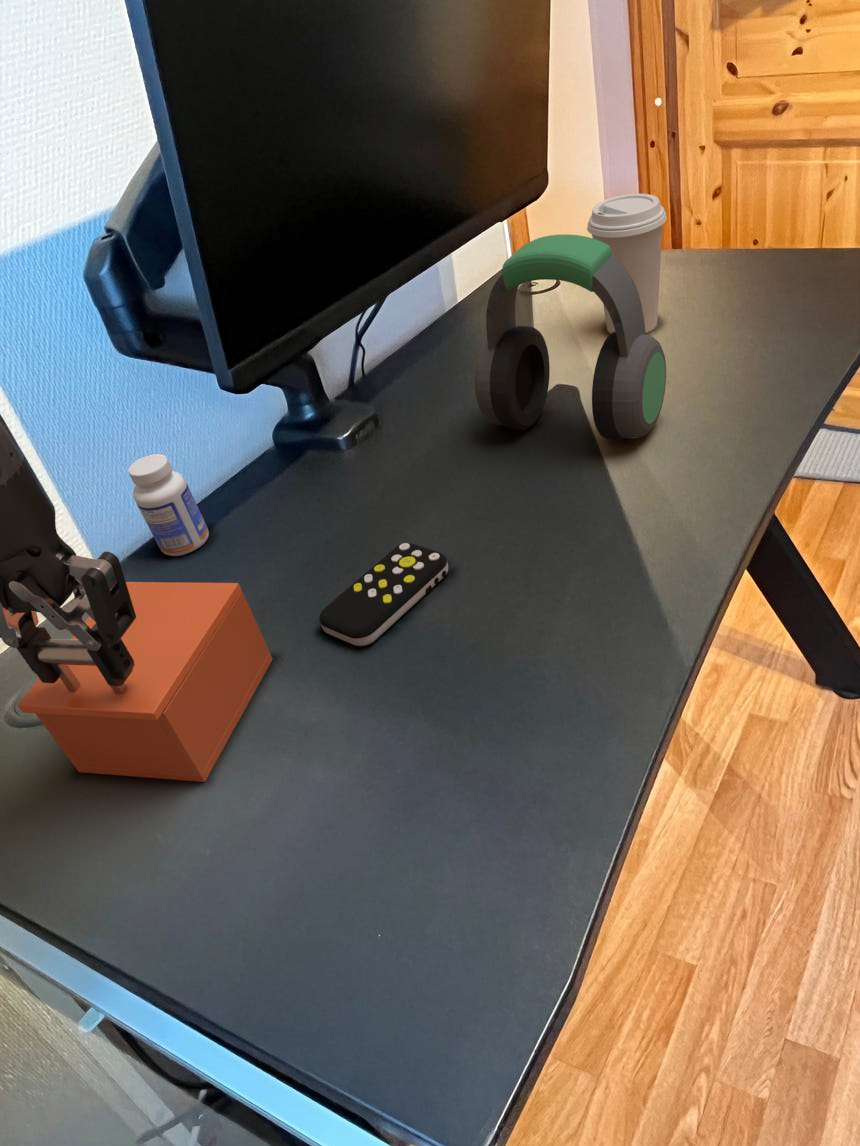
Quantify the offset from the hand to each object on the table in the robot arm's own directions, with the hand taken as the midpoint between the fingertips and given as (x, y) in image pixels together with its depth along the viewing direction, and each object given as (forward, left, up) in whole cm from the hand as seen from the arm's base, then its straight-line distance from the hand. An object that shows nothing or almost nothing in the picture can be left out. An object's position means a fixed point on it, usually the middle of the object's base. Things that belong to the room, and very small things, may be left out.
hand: (88, 675), depth 63 cm
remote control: (+14, +21, -10) cm, 27 cm away
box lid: (0, +5, -2) cm, 6 cm away
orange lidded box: (0, +6, -10) cm, 11 cm away
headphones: (+27, +51, -10) cm, 58 cm away
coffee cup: (+31, +77, -10) cm, 83 cm away
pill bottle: (-12, +30, -10) cm, 34 cm away
